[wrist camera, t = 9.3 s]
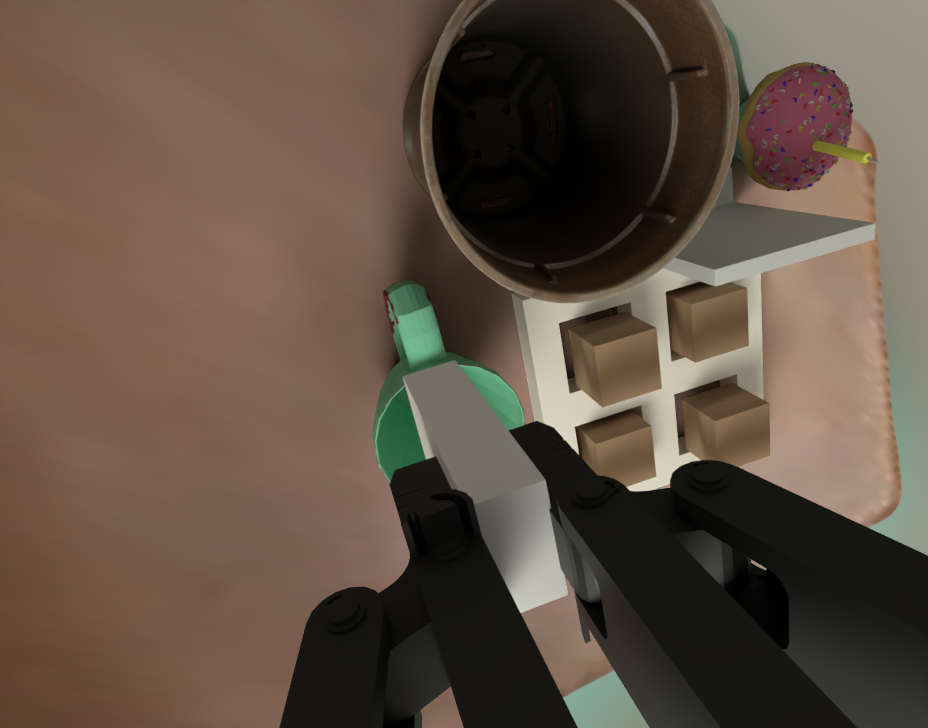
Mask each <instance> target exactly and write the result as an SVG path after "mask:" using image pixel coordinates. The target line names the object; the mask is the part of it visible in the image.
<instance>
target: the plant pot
mask: <svg viewBox="0 0 928 728" xmlns="http://www.w3.org/2000/svg"><path fill="white" fill-rule="evenodd" d="M484 50H490V51H493V52H496V54H497V55H496V56H495V57H492V58H488V59H480V60H475V61H471V62H468V63H465V64H463V63H461V61H460V57H461V55H462V54H464V53H467V52H471V51H484ZM549 100H553V101H554V103H555V108H556V115H557V124H558V128H557V136H556V139H555V138H553V136H552V134H551V132H550V131H551V124H550V114H549V112H548V108H547V105H548V102H549ZM503 105H508V106H509V107H510V113H509V114H508V115H506V114H504V113H503V112H502V107H503ZM469 111H474V112H475V113H476V118H475V120H473V121H472V120H469V119H468V118H467V112H469ZM738 122H739V86H738V75H737V68H736V63H735V58H734V54H733V50H732V47H731V43H730V40H729V36H728V33H727V31H726V29H725V26H724V24H723V22H722V20H721V18H720V16H719V14H718V12H717V10H716V8H715V6H714V4H713V3H712V1H711V0H462V1H461V2H460V4H459V5H458V7H457V8H456V10H455V11H454V13H453V14H452V16H451V17H450V19H449V21H448V22H447V24H446V26H445V28H444V30H443V32H442V33H441V35H440V38H439V40H438V42H437V45H436V47H435V49H434V52H433V55H432V57H431V59H430V60H429V61H428V62H427V63H426V65H425V66H424V67H423V68H422V69H421V71H420V73H419V74H418V76H417V77H416V79H415V81H414V83H413V85H412V87H411V89H410V92H409V94H408V97H407V101H406V105H405V111H404V119H403V138H404V146H405V151H406V155H407V159H408V162H409V165H410V167H411V170H412V172H413V174H414V176H415V178H416V180H417V182H418V183H419V185H420V186H421V188H422V189H423V190H424V192H425V193H426V194H427V195H428V196H429V197H430V198H431V199H432V201H433V204H434V206H435V208H436V211H437V213H438V215H439V217H440V219H441V221H442V223H443V225H444V227H445V228H446V230H447V232H448V233H449V235H450V236H451V238H452V239H453V241H454V242H455V243H456V245H457V246H458V248H459V249H460V250H461V251H462V252H463V254H464V255H465V256H466V257H467V258H468V259H469V260H470V261H471V262H472V263H473V264H474V265H475V266H476V267H477V268H478V269H479V270H480V271H482V272H483V273H484V274H485V275H487V276H488V277H489V278H491V279H492V280H494V281H495V282H497V283H498V284H500V285H502V286H504V287H505V288H507V289H509V290H511V291H514V292H516V293H518V294H521V295H524V296H526V297H529V298H533V299H536V300H540V301H546V302H553V303H583V302H590V301H596V300H600V299H605V298H608V297H611V296H614V295H617V294H619V293H622V292H624V291H627V290H629V289H631V288H633V287H635V286H637V285H639V284H640V283H642V282H644V281H646V280H647V279H649V278H650V277H652V276H653V275H654V274H656V273H657V272H658V271H660V270H661V269H662V268H664V267H665V266H666V265H667V264H668V263H669V262H670V261H672V260H673V259H674V258H675V257H676V256H677V255H678V254H679V253H680V252H681V251H682V250H683V249H684V248H685V247H686V246H687V245H688V243H689V242H690V241H691V240H692V239H693V237H694V236H695V235H696V233H697V232H698V231H699V230H700V228H701V227H702V225H703V224H704V222H705V221H706V219H707V217H708V216H709V214H710V212H711V210H712V209H713V207H714V205H715V203H716V201H717V199H718V197H719V195H720V192H721V190H722V188H723V185H724V183H725V180H726V177H727V174H728V172H729V168H730V165H731V161H732V158H733V154H734V150H735V144H736V138H737V131H738ZM509 143H511V144H513V145H514V151H513V152H512V153H510V152H508V151H507V149H506V147H507V144H509ZM474 149H479V150H480V152H481V156H480V157H479V158H477V159H476V158H474V157H473V156H472V151H473V150H474ZM507 196H514V199H513V200H512V202H510V203H508V204H506V205H502V206H498V207H494V208H482V207H481V203H482V202H483V201H485V200H490V201H491V200H493V199H498V198H505V197H507Z"/></svg>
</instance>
